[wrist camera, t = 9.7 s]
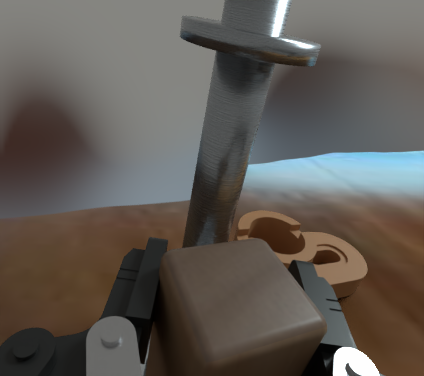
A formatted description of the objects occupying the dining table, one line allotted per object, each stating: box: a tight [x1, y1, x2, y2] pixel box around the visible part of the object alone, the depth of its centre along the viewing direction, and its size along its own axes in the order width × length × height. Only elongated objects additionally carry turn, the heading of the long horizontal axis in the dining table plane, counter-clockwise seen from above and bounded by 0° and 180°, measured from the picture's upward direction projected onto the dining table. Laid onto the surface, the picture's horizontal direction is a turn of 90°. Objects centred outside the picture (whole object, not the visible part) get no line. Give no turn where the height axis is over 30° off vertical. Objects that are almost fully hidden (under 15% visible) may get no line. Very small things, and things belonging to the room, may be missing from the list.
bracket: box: [233, 211, 367, 298], centre depth 36 cm, size 18×8×7 cm, turn 111°
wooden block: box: [145, 238, 327, 376], centre depth 11 cm, size 4×4×8 cm
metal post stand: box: [141, 0, 321, 376], centre depth 20 cm, size 10×20×28 cm, turn 178°
